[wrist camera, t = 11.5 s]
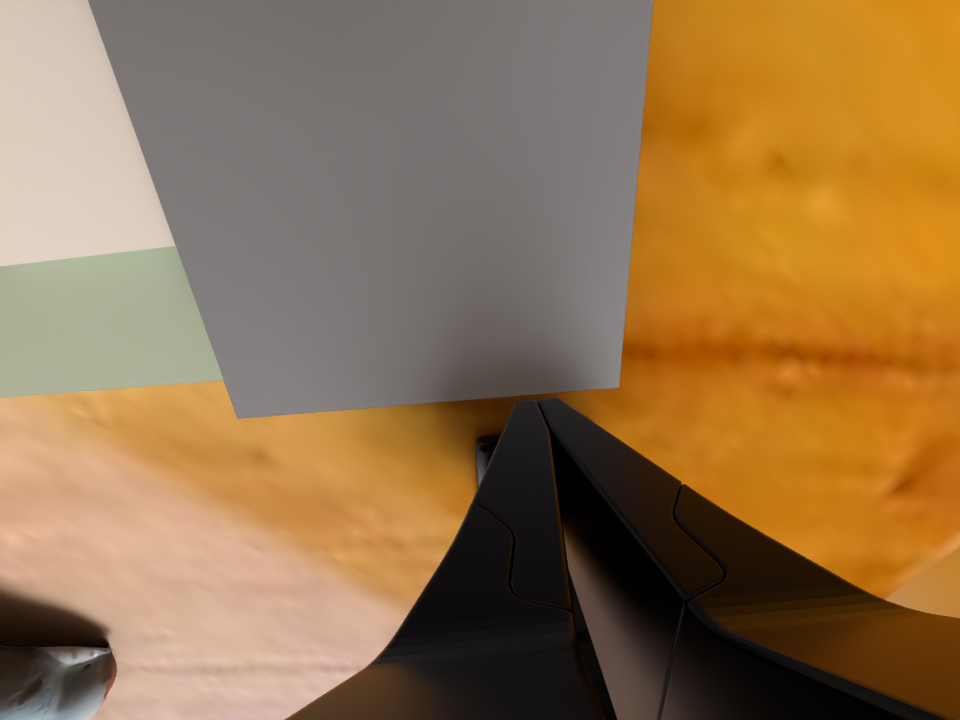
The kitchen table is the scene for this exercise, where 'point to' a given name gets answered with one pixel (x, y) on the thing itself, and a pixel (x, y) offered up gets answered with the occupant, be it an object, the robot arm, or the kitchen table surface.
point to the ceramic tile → (67, 142)
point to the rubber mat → (101, 325)
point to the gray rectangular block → (393, 189)
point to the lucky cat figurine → (54, 682)
